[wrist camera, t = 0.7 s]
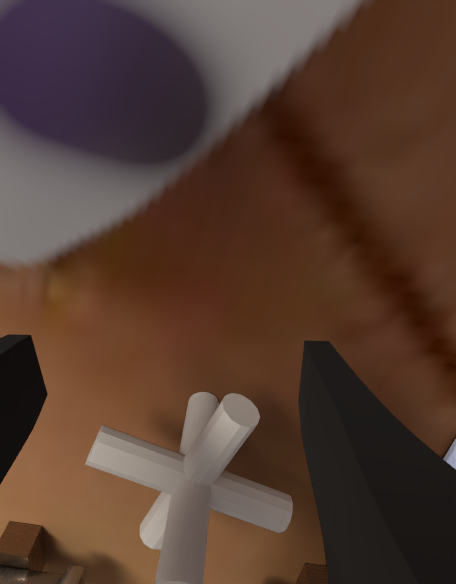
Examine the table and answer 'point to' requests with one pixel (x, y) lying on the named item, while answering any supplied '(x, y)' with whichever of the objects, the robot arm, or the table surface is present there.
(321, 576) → the shaft
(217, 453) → the pipe connector
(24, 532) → the grey metal fitting
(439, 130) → the table surface
